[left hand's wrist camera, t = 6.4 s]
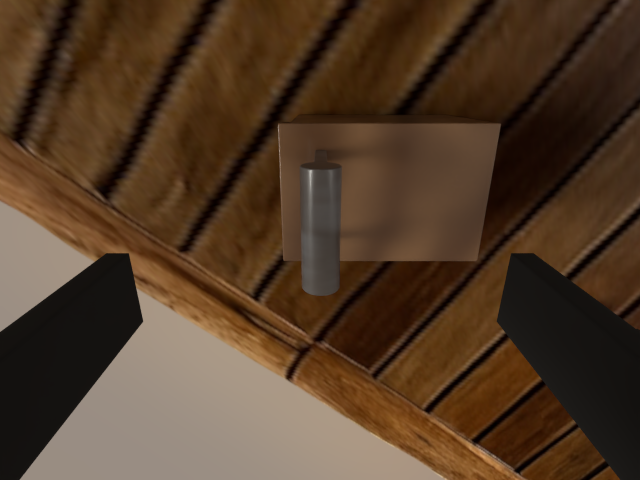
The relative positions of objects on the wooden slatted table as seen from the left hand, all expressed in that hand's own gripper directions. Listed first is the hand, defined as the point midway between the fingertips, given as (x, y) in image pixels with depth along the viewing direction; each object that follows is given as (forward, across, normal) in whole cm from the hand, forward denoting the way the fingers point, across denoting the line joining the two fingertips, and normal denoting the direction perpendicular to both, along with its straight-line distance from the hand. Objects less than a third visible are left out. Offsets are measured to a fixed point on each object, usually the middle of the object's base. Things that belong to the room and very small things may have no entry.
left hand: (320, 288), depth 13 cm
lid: (+13, +4, 0) cm, 14 cm away
